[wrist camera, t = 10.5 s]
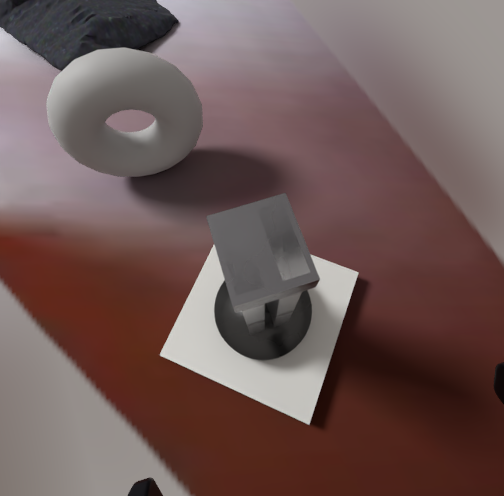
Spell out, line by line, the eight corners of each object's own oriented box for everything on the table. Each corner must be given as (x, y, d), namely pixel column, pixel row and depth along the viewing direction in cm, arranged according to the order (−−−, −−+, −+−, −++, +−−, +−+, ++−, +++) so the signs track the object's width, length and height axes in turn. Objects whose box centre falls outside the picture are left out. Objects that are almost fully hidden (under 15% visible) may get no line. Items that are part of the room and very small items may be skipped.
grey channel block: (290, 257, 23) (314, 148, 12) (322, 343, 21) (388, 306, 10) (207, 283, 23) (151, 195, 12) (231, 373, 21) (192, 371, 9)
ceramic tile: (307, 422, 20) (309, 424, 19) (163, 355, 22) (159, 355, 21) (354, 276, 24) (358, 272, 23) (226, 228, 25) (224, 222, 24)
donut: (207, 133, 29) (179, 16, 19) (217, 166, 27) (192, 57, 18) (91, 163, 28) (4, 57, 19) (96, 198, 27) (5, 102, 17)
